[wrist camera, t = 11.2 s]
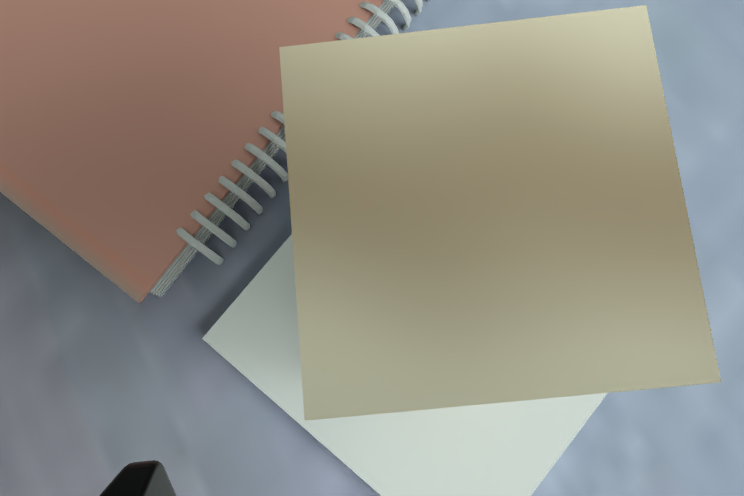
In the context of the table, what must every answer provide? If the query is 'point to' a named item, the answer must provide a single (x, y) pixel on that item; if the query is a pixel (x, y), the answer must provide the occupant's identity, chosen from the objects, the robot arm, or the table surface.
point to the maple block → (489, 217)
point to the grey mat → (399, 429)
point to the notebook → (152, 118)
